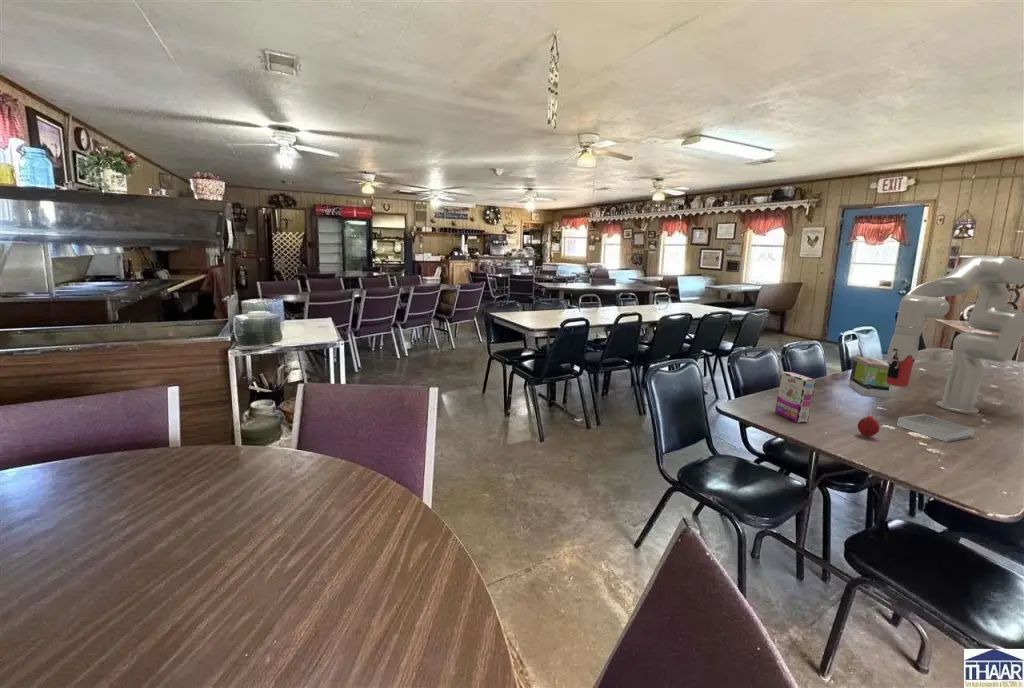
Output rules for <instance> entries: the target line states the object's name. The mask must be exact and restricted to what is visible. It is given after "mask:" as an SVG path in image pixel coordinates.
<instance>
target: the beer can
mask: <svg viewBox="0 0 1024 688" xmlns="http://www.w3.org/2000/svg"><path fill="white" fill-rule="evenodd" d="M894 359H896V360H898V358H894ZM894 362H895V363H897V362H896V361H894ZM912 365H913V366H914V363H913V358H912V356H907V358H906V359H905V360H904V361H902V362H901V363H900V365H899V367H898V368H899V373H898V377H897V379H894V378H890V377H887V379H886V382H887V383H888V384H890V386H894V387H897V388H898V387H900V388H901V387H902V388H905V387H908V386H909V383H910V379H911V374H912V369H913V366H912Z"/></svg>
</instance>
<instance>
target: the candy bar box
mask: <svg viewBox="0 0 1024 688" xmlns="http://www.w3.org/2000/svg"><path fill="white" fill-rule="evenodd" d="M779 381H780V382H779V386H778V393H777V399H776V405H775V411H774V413H775V412H776V413H775V414H777V413H778V414H777V415H779V414H780V416H781V415H782V417H784V418H785V419H788V420H791V421H792V422H794V423H797V424H805V423H804V422H807V423H809V418H810V413H811V407H812V404H813V403H812V401H813V397H814V391H815V387H816V383H817V380H816V379H814V378H811V377H809V376H806V375H802V374H800V373H796V372H793V371H782V372H781V375H780V380H779Z"/></svg>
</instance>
